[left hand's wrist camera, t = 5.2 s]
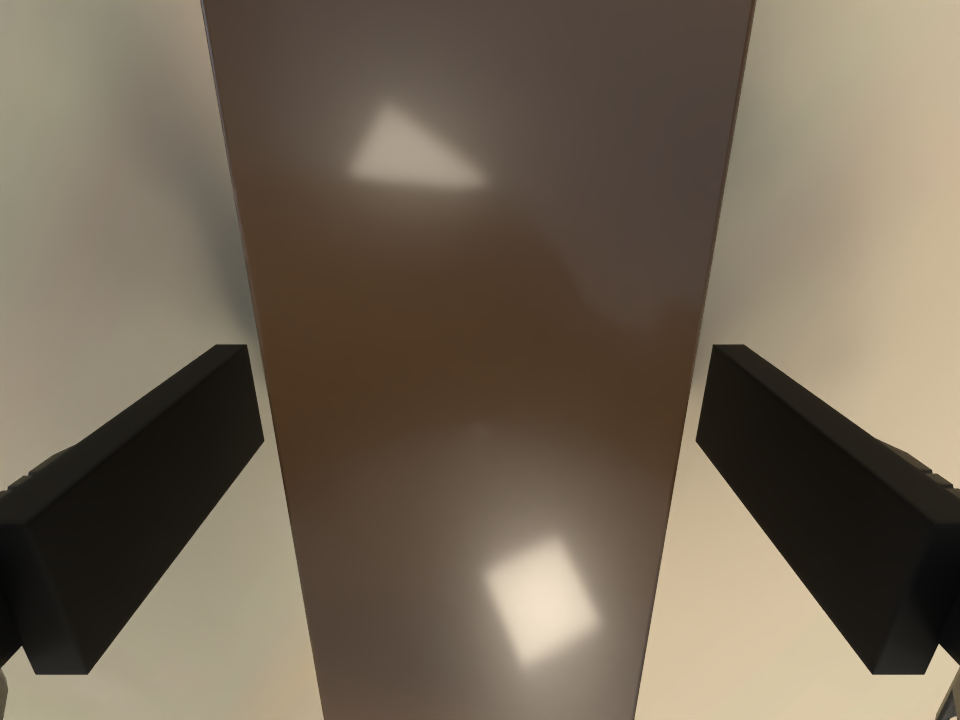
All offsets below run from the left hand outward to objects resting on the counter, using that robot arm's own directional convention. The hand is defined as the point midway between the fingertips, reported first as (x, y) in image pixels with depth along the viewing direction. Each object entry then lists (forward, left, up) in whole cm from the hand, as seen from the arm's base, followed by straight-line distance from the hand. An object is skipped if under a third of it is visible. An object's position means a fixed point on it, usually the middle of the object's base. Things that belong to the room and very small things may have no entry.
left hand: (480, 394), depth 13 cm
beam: (+35, 0, -2) cm, 35 cm away
